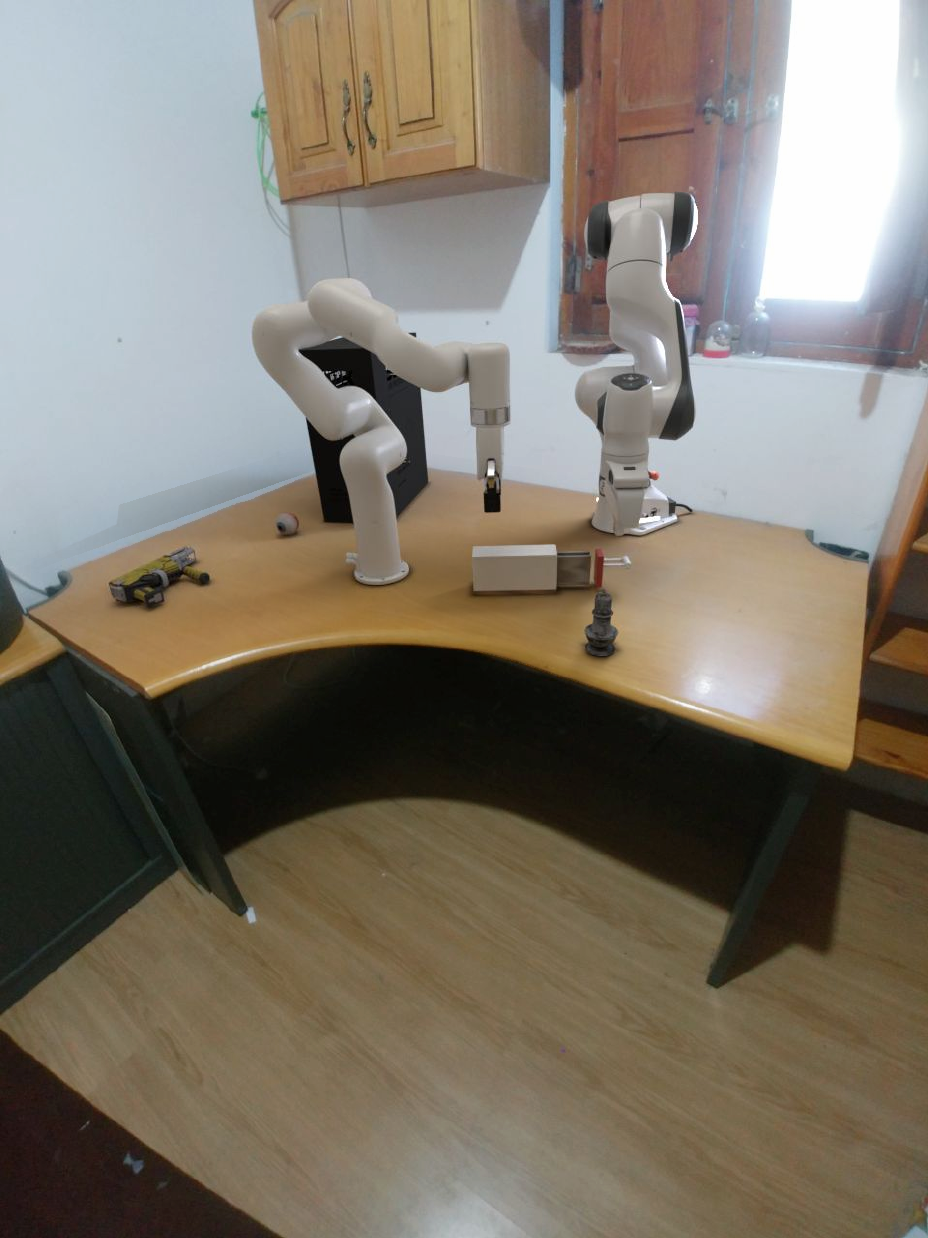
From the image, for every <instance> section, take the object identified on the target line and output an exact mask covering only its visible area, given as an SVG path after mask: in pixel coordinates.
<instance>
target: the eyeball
mask: <svg viewBox="0 0 928 1238" xmlns="http://www.w3.org/2000/svg"><path fill="white" fill-rule="evenodd" d="M299 525H300V522H299V519H298V517H297V516H296V515H295V514H294V513H292V512H287V511H286V512H282V513H280V514H279V515H278V516H277V517H276V520H275V527H276V529H277V530H278V531H279V532H280V533H281V534H282V535H285V536H286V535H287V536H289V535H293V534H295V533H296V532H297V531H298V529H299Z"/></svg>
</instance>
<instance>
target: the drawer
mask: <svg viewBox="0 0 928 1238" xmlns="http://www.w3.org/2000/svg"><path fill="white" fill-rule="evenodd" d="M591 565H592V555H591V551H590V550H569V551H568V550H565V551H561V550H560V551H557V581H556V587H570V586H571V587H573V586H575V587H576V586H577V587H578V586H591V585H590V584H591V583H590V582H591V568H592V567H591ZM632 567H633V565H632V563H631V560H630V558H629V556H628V555H624V556H622V557H615V558H614V557H613V558H611V557H610V558H605V556H604V552H603V550H602V548H601V547H600V548H598V547H597V548H595V550H594V565H593V581H594V585H595V589H602V588H603V578H604V576H603V574H604V568H625V570H630V569H632Z"/></svg>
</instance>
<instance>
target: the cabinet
mask: <svg viewBox="0 0 928 1238" xmlns="http://www.w3.org/2000/svg"><path fill="white" fill-rule="evenodd" d="M557 552H558V551H557V547H556V543H555V544H515V545H512V544H511V545H473V546H472V553H471V564H472V566H471V567H472V584H473V585H472V587H473V588H472V589H473V596H507V595H508V596H510V595H512V596H513V595H514V596H515V595H556V594H557V586H556V581H557Z"/></svg>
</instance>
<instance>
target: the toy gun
mask: <svg viewBox="0 0 928 1238" xmlns="http://www.w3.org/2000/svg"><path fill="white" fill-rule="evenodd" d="M192 554H193V556H194V558H193V557H190V555H192ZM196 561H197V556H196V551H195V549H194V548H193V547H188V546H186V545H185V546H183V547H181V548H179V549H177V550H175V551H173V552H170V553H169V554H164V555H162V556H160V557H158V558H156V559H154V560H151V561H150V562H148V563H145V564H144V565H141V566H139V567H137V568H135V569H133V570H130V571H129V572H127V573H125V574H123V575H120V576H118V577H117V578H114V579H112V580H110V581H109V582H108V587H109V589H110V595H111V597H112V599H113V600H115V602H117V603H118V602H119V603H123V602H125V603H131V602H135V601H139V600H140V601H142V602H144V603H145V605H146V608H147V609H150V608H153V607H155V606H157V605H159V604H162V603H164V602H165V597H164V593H163V589H166V588H167V587H169V584H170V582H173V581H175V580H177V579H180V578H181V577H182V576H185V577H187V578H190V579H192V580H195V581H197V582H198V581H199V582H200V583H201V584H207V583H208V582H210V577H211V576H210V573H208V572H205V571H202V570H198V569H196V568H194V567H191V566H189V565H191V564H193V563H195V562H196Z"/></svg>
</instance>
